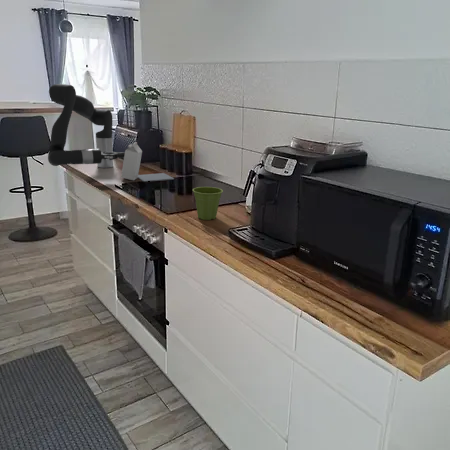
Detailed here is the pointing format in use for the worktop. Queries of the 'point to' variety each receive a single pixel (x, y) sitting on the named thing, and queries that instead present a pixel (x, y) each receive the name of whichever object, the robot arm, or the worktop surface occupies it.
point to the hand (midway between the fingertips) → (124, 154)
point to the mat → (154, 177)
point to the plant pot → (207, 201)
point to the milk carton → (131, 162)
